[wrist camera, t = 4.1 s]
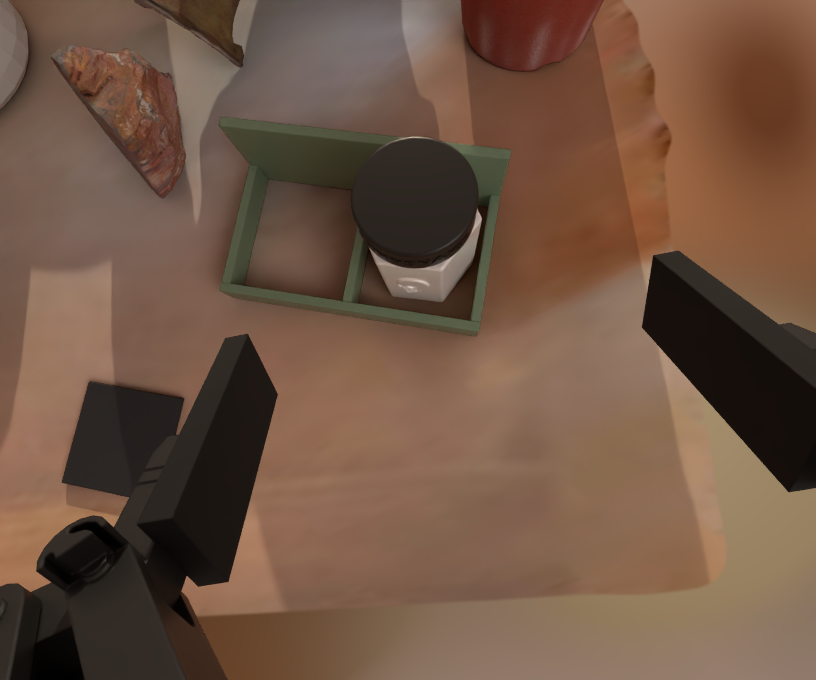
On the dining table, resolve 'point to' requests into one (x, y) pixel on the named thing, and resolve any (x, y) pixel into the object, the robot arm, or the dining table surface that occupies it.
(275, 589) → the dining table surface
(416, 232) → the jar
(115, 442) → the mat
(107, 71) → the stone
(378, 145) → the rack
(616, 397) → the dining table surface
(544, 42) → the flower pot
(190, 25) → the jug
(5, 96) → the mug
